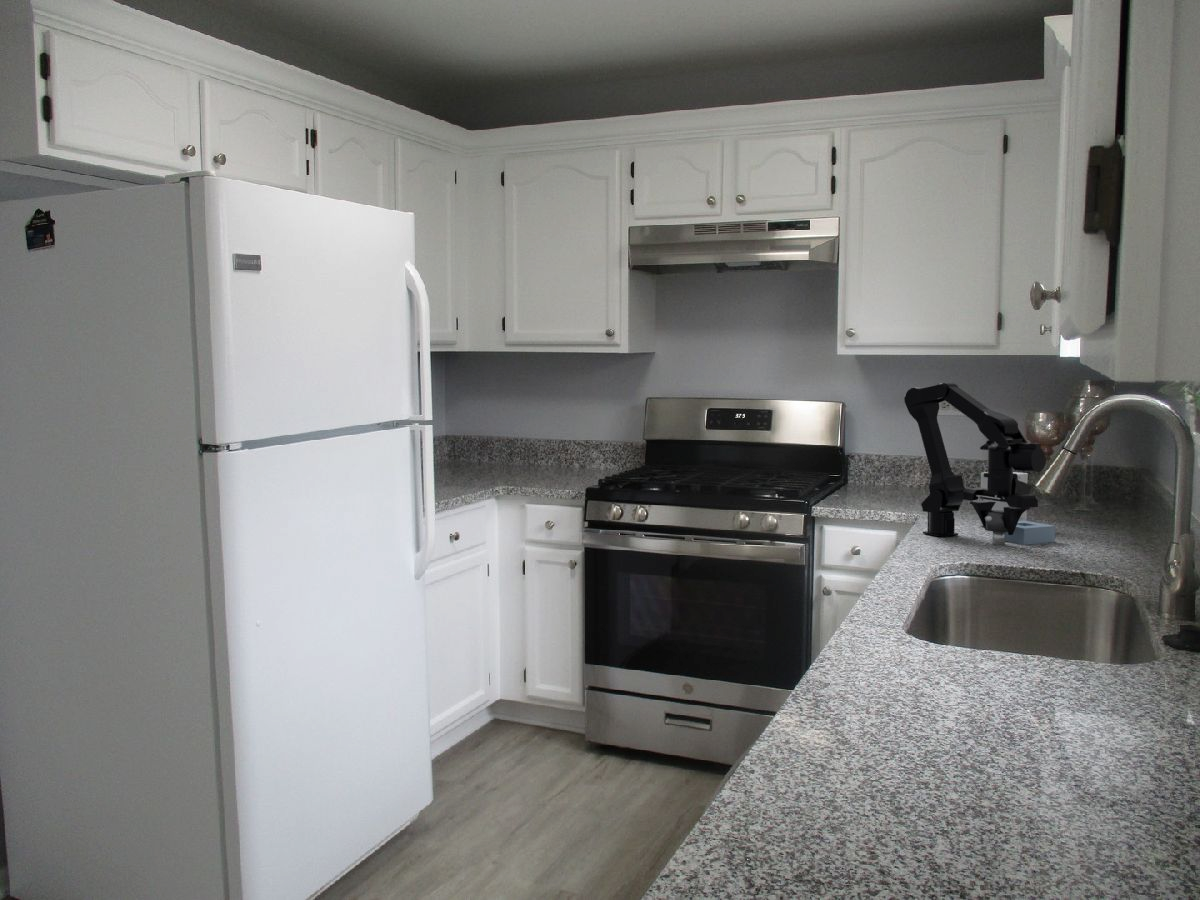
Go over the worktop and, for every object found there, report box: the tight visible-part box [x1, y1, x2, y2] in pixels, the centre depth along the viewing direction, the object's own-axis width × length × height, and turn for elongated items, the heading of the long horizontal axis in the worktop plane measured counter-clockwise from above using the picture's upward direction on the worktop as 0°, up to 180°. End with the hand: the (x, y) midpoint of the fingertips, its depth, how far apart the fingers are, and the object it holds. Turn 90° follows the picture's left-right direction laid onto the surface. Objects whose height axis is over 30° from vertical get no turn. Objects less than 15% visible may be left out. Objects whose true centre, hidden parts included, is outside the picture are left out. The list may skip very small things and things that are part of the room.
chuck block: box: [1005, 520, 1056, 546], centre depth 238 cm, size 10×10×4 cm
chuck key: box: [985, 510, 1008, 546], centre depth 232 cm, size 8×6×8 cm
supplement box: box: [979, 471, 1029, 527], centre depth 260 cm, size 9×9×15 cm
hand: (998, 532), depth 232 cm, fingers open, 7 cm apart
